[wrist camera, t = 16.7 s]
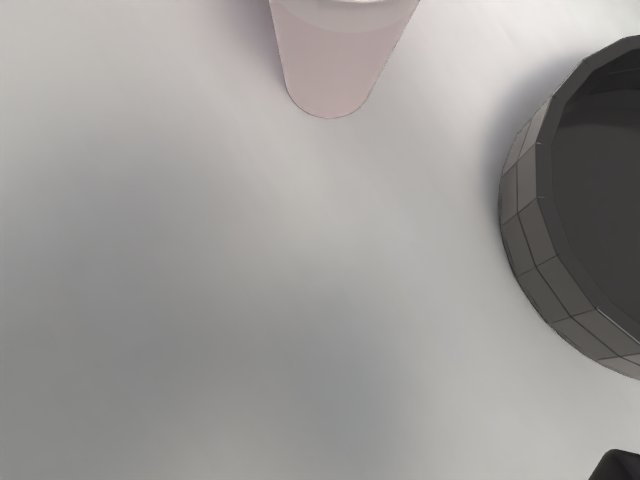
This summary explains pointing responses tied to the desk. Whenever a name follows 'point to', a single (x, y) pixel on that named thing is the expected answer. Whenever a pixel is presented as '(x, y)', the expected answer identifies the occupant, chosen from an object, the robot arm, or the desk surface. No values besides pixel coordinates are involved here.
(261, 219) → the desk surface
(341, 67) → the smoothie
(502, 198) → the pan
